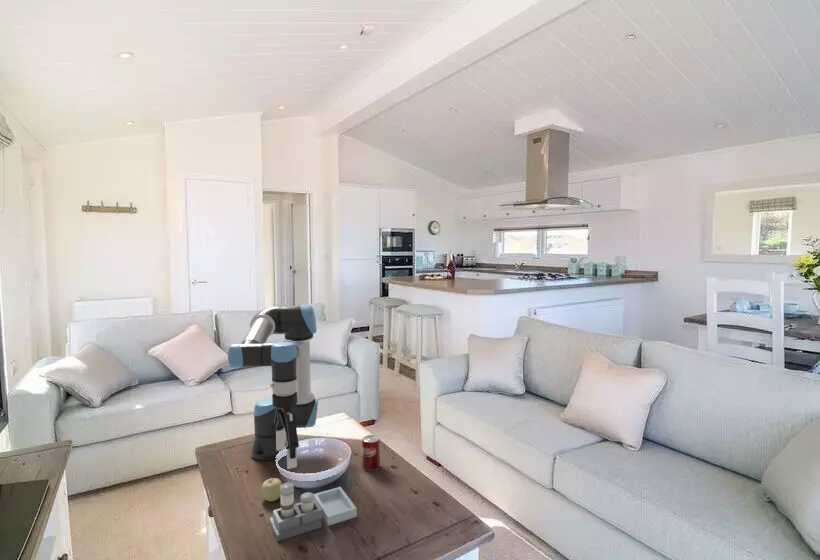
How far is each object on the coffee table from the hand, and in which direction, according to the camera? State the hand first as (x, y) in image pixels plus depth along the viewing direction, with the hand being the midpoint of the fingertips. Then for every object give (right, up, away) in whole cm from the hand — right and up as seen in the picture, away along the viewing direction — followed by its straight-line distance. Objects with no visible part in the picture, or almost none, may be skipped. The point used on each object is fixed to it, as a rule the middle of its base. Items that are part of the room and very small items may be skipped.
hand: (286, 458), depth 143 cm
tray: (+13, -22, +12) cm, 29 cm away
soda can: (+23, -20, +41) cm, 51 cm away
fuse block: (+2, -23, +4) cm, 23 cm away
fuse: (0, -21, +2) cm, 21 cm away
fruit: (-10, -22, +19) cm, 30 cm away
